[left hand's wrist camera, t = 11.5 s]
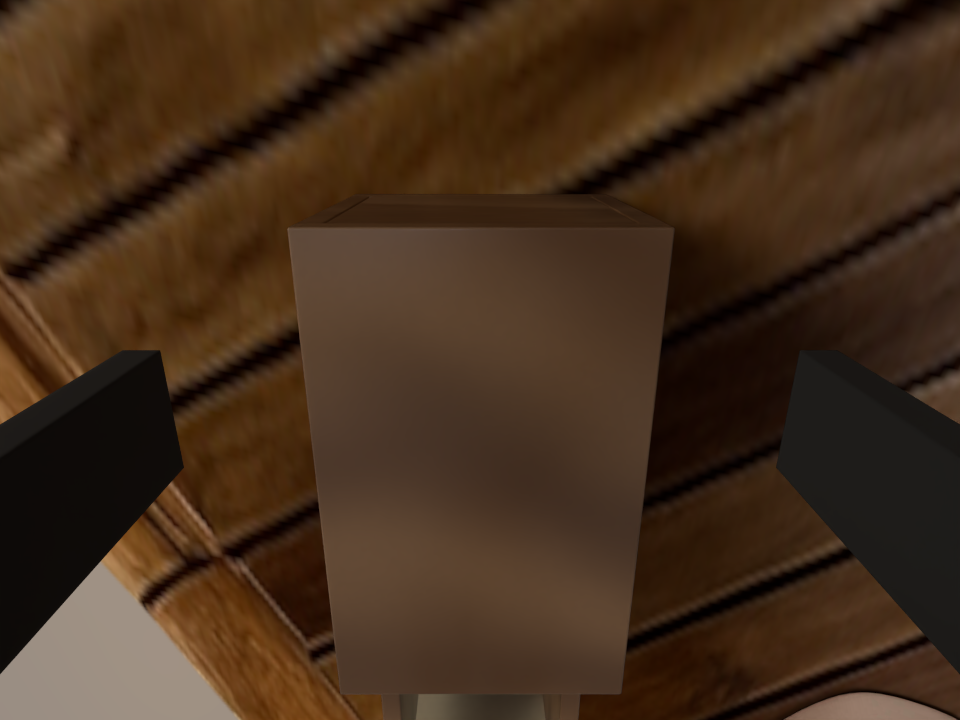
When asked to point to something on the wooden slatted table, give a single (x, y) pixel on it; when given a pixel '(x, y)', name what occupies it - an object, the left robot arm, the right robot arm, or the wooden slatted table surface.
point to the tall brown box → (481, 433)
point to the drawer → (480, 706)
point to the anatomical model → (868, 709)
